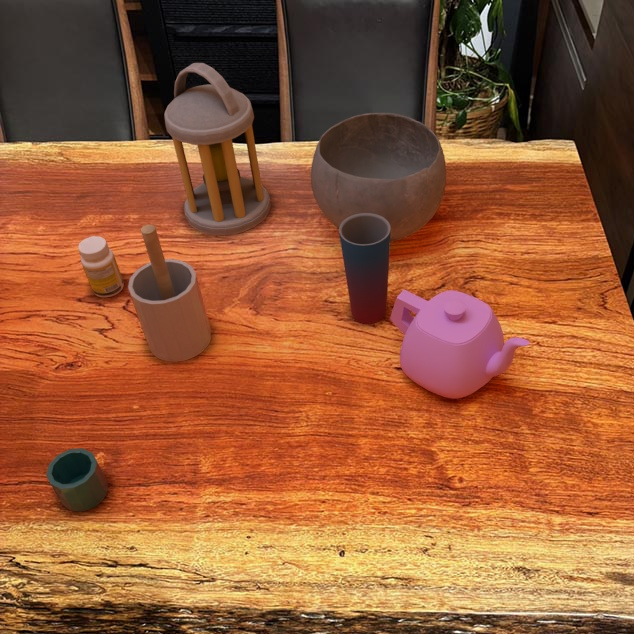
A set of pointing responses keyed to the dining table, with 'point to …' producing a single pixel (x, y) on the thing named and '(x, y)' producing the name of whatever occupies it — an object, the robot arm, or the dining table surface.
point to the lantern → (216, 154)
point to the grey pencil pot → (171, 312)
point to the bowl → (380, 171)
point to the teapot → (451, 342)
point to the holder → (77, 479)
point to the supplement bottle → (100, 267)
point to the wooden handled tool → (157, 261)
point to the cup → (366, 264)
